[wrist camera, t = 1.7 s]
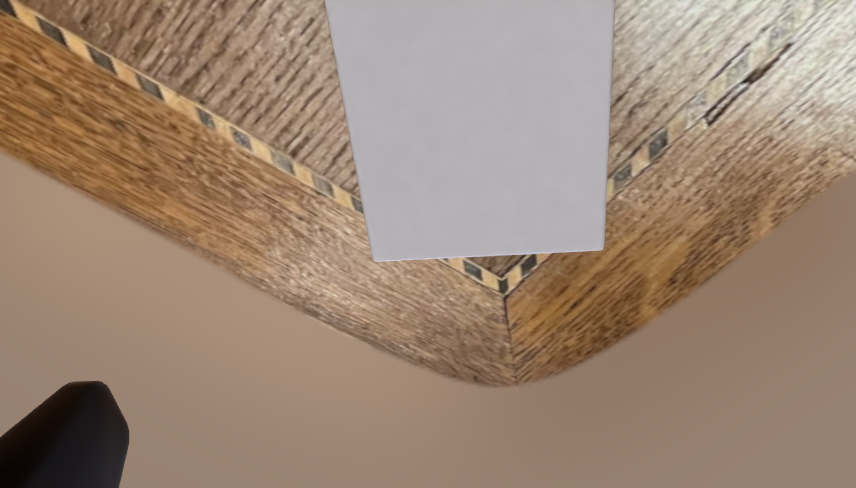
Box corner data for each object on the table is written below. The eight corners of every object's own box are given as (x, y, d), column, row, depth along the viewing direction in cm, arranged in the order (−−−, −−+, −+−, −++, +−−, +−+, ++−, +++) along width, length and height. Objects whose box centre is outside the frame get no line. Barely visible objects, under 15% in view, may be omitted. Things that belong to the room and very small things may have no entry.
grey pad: (588, 176, 19) (604, 252, 16) (384, 188, 19) (371, 263, 17) (596, -139, 14) (620, -99, 12) (336, -113, 15) (309, -70, 13)
